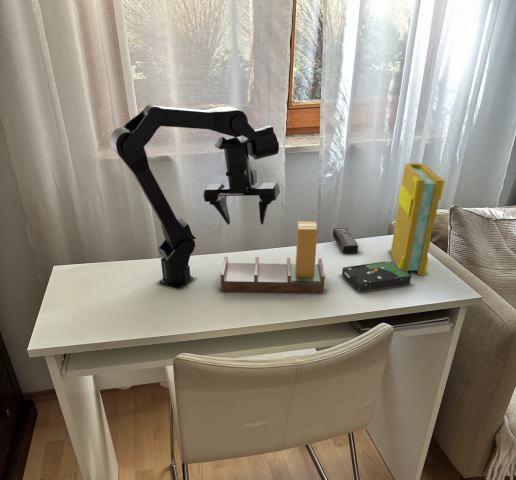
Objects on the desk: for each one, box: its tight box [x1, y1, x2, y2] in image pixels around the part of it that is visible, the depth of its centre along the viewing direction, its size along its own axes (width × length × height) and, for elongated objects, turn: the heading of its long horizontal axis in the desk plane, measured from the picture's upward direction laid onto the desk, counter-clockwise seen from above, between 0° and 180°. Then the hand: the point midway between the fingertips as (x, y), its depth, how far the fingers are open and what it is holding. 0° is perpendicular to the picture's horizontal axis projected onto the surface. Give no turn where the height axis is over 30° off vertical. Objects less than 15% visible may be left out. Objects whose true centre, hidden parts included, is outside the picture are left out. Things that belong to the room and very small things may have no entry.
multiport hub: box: [332, 227, 359, 254], centre depth 151 cm, size 4×14×2 cm, turn 5°
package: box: [295, 221, 318, 277], centre depth 124 cm, size 4×6×13 cm
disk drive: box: [341, 261, 412, 293], centre depth 130 cm, size 10×3×15 cm
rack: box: [220, 256, 326, 294], centre depth 128 cm, size 26×11×5 cm, turn 88°
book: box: [390, 162, 446, 276], centre depth 134 cm, size 17×7×25 cm, turn 179°
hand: (245, 223), depth 131 cm, fingers open, 9 cm apart
